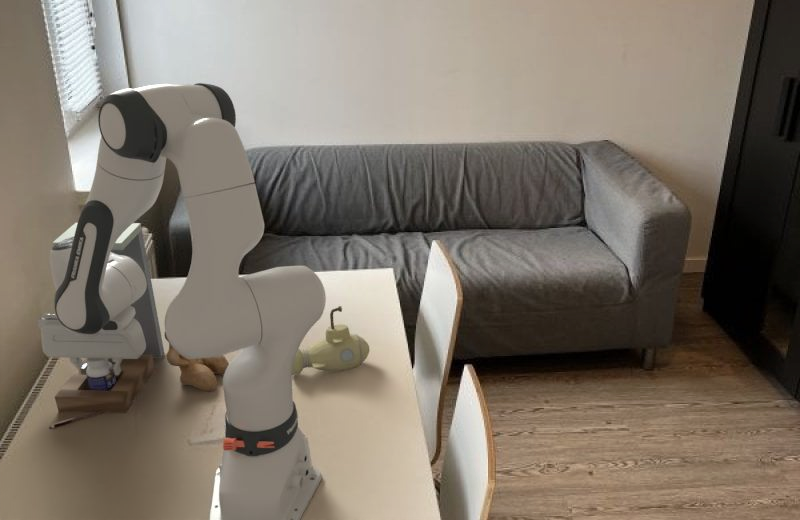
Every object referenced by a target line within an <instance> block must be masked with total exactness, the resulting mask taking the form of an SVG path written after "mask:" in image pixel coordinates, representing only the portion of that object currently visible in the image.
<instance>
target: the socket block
mask: <svg viewBox="0 0 800 520" xmlns="http://www.w3.org/2000/svg"><path fill="white" fill-rule="evenodd" d="M108 360H109V362H111V363H112V365H113V364H115V363H116V362H113V361H112V359H110V358H108ZM82 361H83V362H84V363H87V358H84V360H82ZM87 364H88V363H87ZM120 368H121V372H120V374H119V375H115V377H116V381H117V383H116V384H115V385H114V387H113V388H112V390H111V391H102V390H90V387H89V383H88V378H87V375H80V374H79V371H78V368H76V370H74V372H72V373H73V374H72V375H71V376H70V377H69V378H68V379H67V380H66V382H65V383H64V385H62V387H61V388H60V389H59V391H58V392H57V393H56V394H55V395H54V400H55V403H56V408H57V412H71V413H72V412H74V413H75V412H76V413H77V412H78V413H79V412H80V413H95V412H98V411H104V412H105V413H109V414H110V413H111V414H112V413H113V414H116V413H117V414H126V413H127V412H128V411H129V409H130V408H131V406H132V404H133V403H134V401H135V399H136V398H137V396H138V395H139V394H140V392H141V390H142V389H143V387H144V386H145V384H146V383H147V381H148V380H149V378H150V376H151V375H152V373H153V372H154V370H155V362H154V358H153V356H152V355H146V354H142V355H141V356H140V357H139V358H138V359H122V361H121V364H120Z"/></svg>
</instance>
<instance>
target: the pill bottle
mask: <svg viewBox="0 0 800 520" xmlns="http://www.w3.org/2000/svg"><path fill="white" fill-rule="evenodd" d="M87 363H88V368H87V369H86V374H87V378H88V383H89V387H90V390H102V391H111V390H112V388H113V387H114V385H115V384H116V383H117V381H116V377H115V375H111V374H110V373H111V372H110V370H109V369H110V367H112V363H111V362H109V360H108V358H87Z"/></svg>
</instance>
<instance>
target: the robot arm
mask: <svg viewBox="0 0 800 520" xmlns="http://www.w3.org/2000/svg"><path fill="white" fill-rule="evenodd" d="M236 117H237V115H236V109H235V106H234V104H233V101H232V99H231V96H230V95H229V94H228V93H227V91H226V90H224V88H221V87H220V86H217V85H214V84H211V83H204V82H203V83H201V82H198V83H194V84H188V83H187V84H185V83H182V84H181V83H179V84H177V83H176V84H175V83H172V84H169V83H159V84H151V85H146V86H142V87H137V88H130V87H128V88H127V87H126V88H124V89H120V90H117V91H115V92H112V93H109V94H108V95H107V96H105V97H104V99H103V100H102V102H101V103H100V108H99V111H98V116H97V118H98V121H97V122H98V127H99V132H100V136H101V137H100V139H99V140H100V141H99V146H98V153H97V160H96V166H95V171H94V177H93V181H92V184H91V187H90V191H89V194H88V196H87V199H86V201H85V204H84V206H83V207H82V210H81V212H80V215H79V218H78V221H77V223H78V224H77V227H76V231H75V236H74V237H71V238H68V239H65V240H63V241H61V242H59V243H58V244H56V245H55V246H53V245H52V246H53V247H51V249H50V252H49V265H50V272H51V277H52V281H53V285H54V288H55V290H56V291H55V294H54V300H53V301H54V303H53V304H54V306H53V307H54V312H55V313H44V314H43V315H41V316H39V318H38V320H37V324H38V327H39V330H40V338H41V347H42V352H43V354H44V355H45V356H47V357H48V358H64V359H65V358H68V359H69V361H70V363H71V364H72V365H73V366H74V367H76V369H77V368H78V371H79V374H80V375H87V374H86V369H87V368H88V364H87V363H84V362H83V361H84V360H82V359H86V358H110V359H112V361H113V362H116V363H115V364H113V365H112V367H110V369H109V370H110V372H111V373H110V374H111V375H119V374H120V372H121V368H120V364H121V361H122V359H138V358H139V357H140V356H141V355H142V354H143V352H144V351H145V348H146V342H145V338H144V334H143V331H142V328H141V326H140V324H139V322H138V321H137V320H136V319H134V316H135V309H134V307H132V306H130V305H131V304H133V303H134V302H135V301H137V300H138V299H139V298H140V297H141V296H142V295H144V294H145V292H146V290H147V276H146V273H145V271H144V269H143V267H142V266H141V265H140V263H139V262H138V261H136V260H135V259H133V258H131V257H129V256H126V255H118V254H115V253H112V252H111V250H112V247H113V245H114V244H115V242H116V241H117V239H118V238H119V237H120V236H121V234H122V233H123V232H124V231H125V230H126V229H127V228H128V227H129V226H130V225H131V224H132V223H135V222H136V221H137V220H138V219H139V218H140V217H142V215H145V213H147V212H148V211H149V210H150V209H151V208H152V207H153V205H154V204H155V203H156V201H157V199H158V197H159V194H160V192H161V190H162V186H163V182H164V177H165V171H166V164H167V163H166V162H167V159H168V160H170V161H171V162H172V164H173V165H174V166H175V169H176V170H177V174H178V179H179V184H180V189H181V193H182V197H183V202H184V205H185V209H186V215H187V219H188V225H189V232H190V236H191V246H192V247H191V248H192V250H191V251H192V255H191V262H190V263H191V264H190V268H189V269H188V270H189V271H188V273H187V274H188V275H187V276H186V279H185V281H184V284H183V286H182V287H181V289H180V290H179V292H178V294H177V295H175V297H174V298H173V299H172V301H171V302H170V304H169V305H168V307H167V310H166V313H165V316H164V333H165V332H166V336H167V339H168V341H169V342H168V341H167V342H168V344H169V343H170V344H171V346H172V347H173V348H174V349H175V350H176V352H178V353H179V354H180V355H181V356H183V357H185V358H187V359H189V360H191V359H202V358H210V357H218V356H221V355H224V356H225V355H228V354H230V353H235V352H237V351H240V350H241V352H239V353H238V354H237V355H236V356H235V357H234V358H233V359H232V360H231V361H230V362H229V365H228V366H227V368H226V370H225V373H224V375H223V377H222V389H223V396H224V403H225V409H226V412H225V415H224V434H223V435H222V437H223V441H222V443H223V444H222V456H221V463H220V464H219V466H218V468H217V469H216V470H215V475H214V476H215V477H214V482H213V487H212V488H213V490H212V495H211V501H210V502H211V503H210V508H209V509H210V510H209V516H208V520H301V518H302V516H303V514H304V513H305V511H306V509H307V507H308V505H309V503H310V502H311V500H312V497H313V496H314V494H315V492H316V490H317V489H318V487H319V485H320V482H321V481H322V478H323V475H322V471H321V470H320V469H319V468H317V467H316V466H314V465H313V462H312V456H311V450H310V449H311V448H310V445H309V439H308V436H307V435H306V434H304V433H303V432H302V430H301V429H300V427H298V425H299V422H298V420H299V419H298V418H299V416H298V410H297V408H296V407H297V406H296V404H295V402H294V400H293V399H294V398H293V384H292V383H293V375H292V366H293V362H294V358H295V356H296V353H297V350H298V348H299V349H300V346H301V344H302V342H303V340H304V338H305V337H306V335H307V334H308V332H309V331H310V330H311V329H312V328H313V327H314V325H315V324H316V323H318V321H319V320H320V319H322V316H323V314H324V311H325V309H326V302H327V301H326V300H327V299H326V298H327V296H326V290H325V287H324V284H323V282H322V281H321V279H320V277H319V275H317V273H316V272H315V271H314V270H312V269H311V268H309V267H308V266H306V265H289V266H288V265H285V266H276V267H273V268H269V269H265V270H261V271H257V272H254V273H251V274H246V275H243V276H239V268H240V265H241V263H242V260H243V259H244V257H245V256H246V254H248V253H249V252H250V251H252V250H253V249H254V248H255V247H256V246H257V244H258V243H259V242H260V241H261V239H262V237H263V236H264V232H265V221H264V216H263V213H262V208H261V204H260V200H259V199H260V198H259V196H258V191H257V186H256V183H255V182H256V181H255V178H254V173H253V171H252V167H251V163H250V160H249V157H248V154H247V152H246V148H245V146H244V145H243V142H242V140H241V137H240V135H239V133H238V130H237V129H236V122H237V119H236Z"/></svg>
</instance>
